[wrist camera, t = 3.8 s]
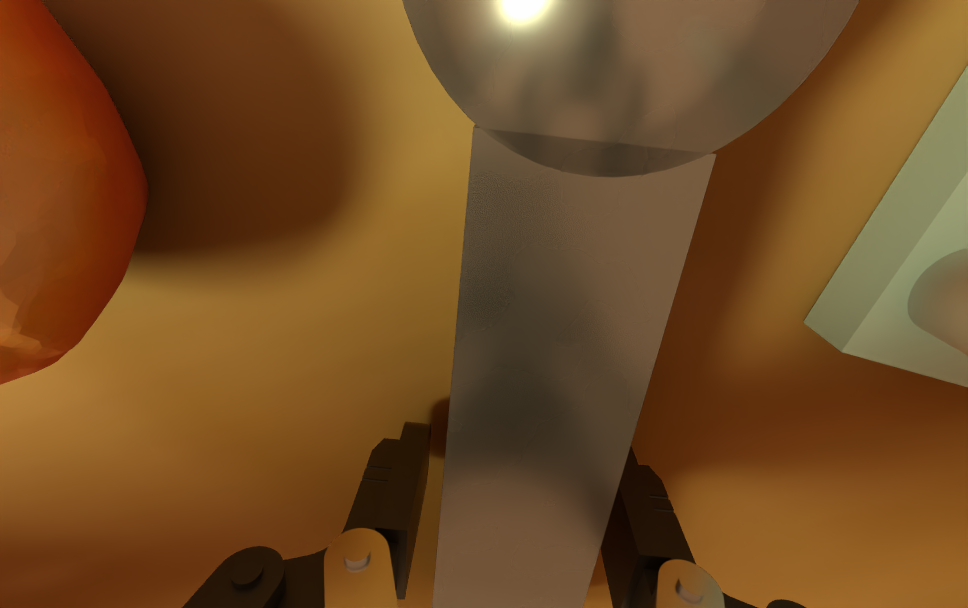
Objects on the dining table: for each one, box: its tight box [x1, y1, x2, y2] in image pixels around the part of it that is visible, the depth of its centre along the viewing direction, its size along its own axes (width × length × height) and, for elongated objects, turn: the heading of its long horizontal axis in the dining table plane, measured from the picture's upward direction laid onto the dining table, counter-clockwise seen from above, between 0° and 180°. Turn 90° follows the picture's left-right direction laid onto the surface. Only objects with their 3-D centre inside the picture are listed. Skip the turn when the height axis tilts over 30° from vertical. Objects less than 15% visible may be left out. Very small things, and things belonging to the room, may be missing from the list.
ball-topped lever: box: [403, 0, 860, 608], centre depth 10 cm, size 24×6×4 cm, turn 174°
